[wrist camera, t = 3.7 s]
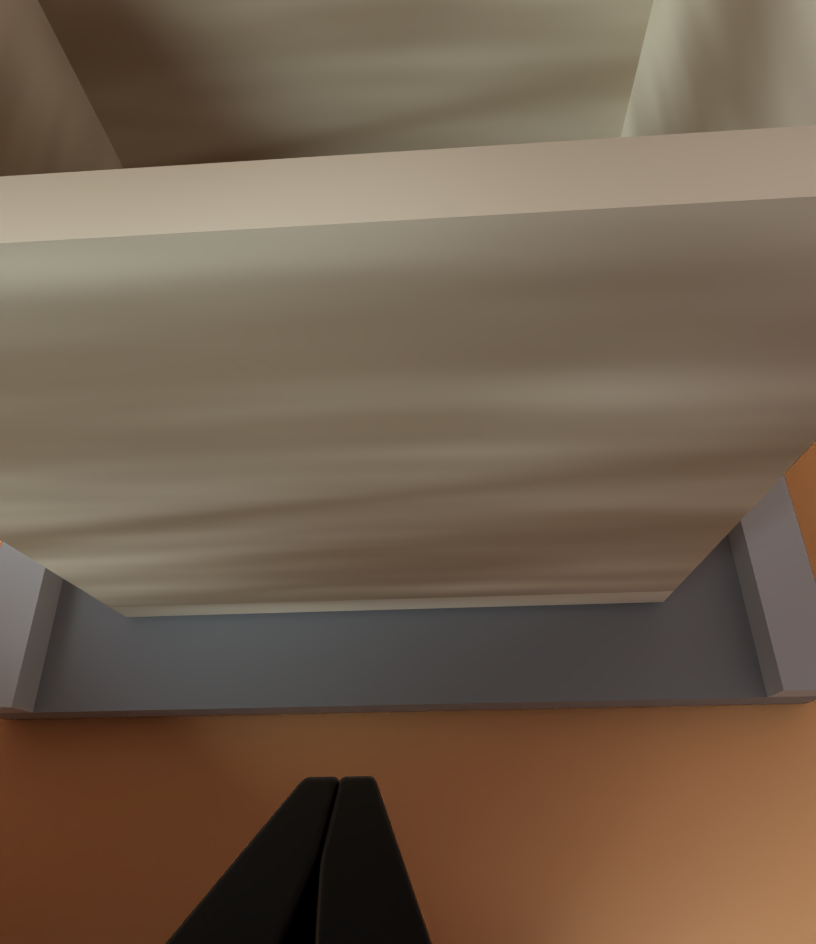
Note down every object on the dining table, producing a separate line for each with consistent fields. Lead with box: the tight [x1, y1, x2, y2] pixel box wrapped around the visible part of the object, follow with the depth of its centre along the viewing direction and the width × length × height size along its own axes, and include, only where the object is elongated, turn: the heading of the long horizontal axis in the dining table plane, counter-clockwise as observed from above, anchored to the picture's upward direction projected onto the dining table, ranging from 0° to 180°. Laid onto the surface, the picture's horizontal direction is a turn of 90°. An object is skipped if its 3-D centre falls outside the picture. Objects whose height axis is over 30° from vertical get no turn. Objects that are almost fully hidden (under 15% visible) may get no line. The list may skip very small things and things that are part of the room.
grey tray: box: [0, 475, 816, 720], centre depth 17 cm, size 22×18×7 cm
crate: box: [0, 0, 816, 617], centre depth 12 cm, size 9×12×11 cm
